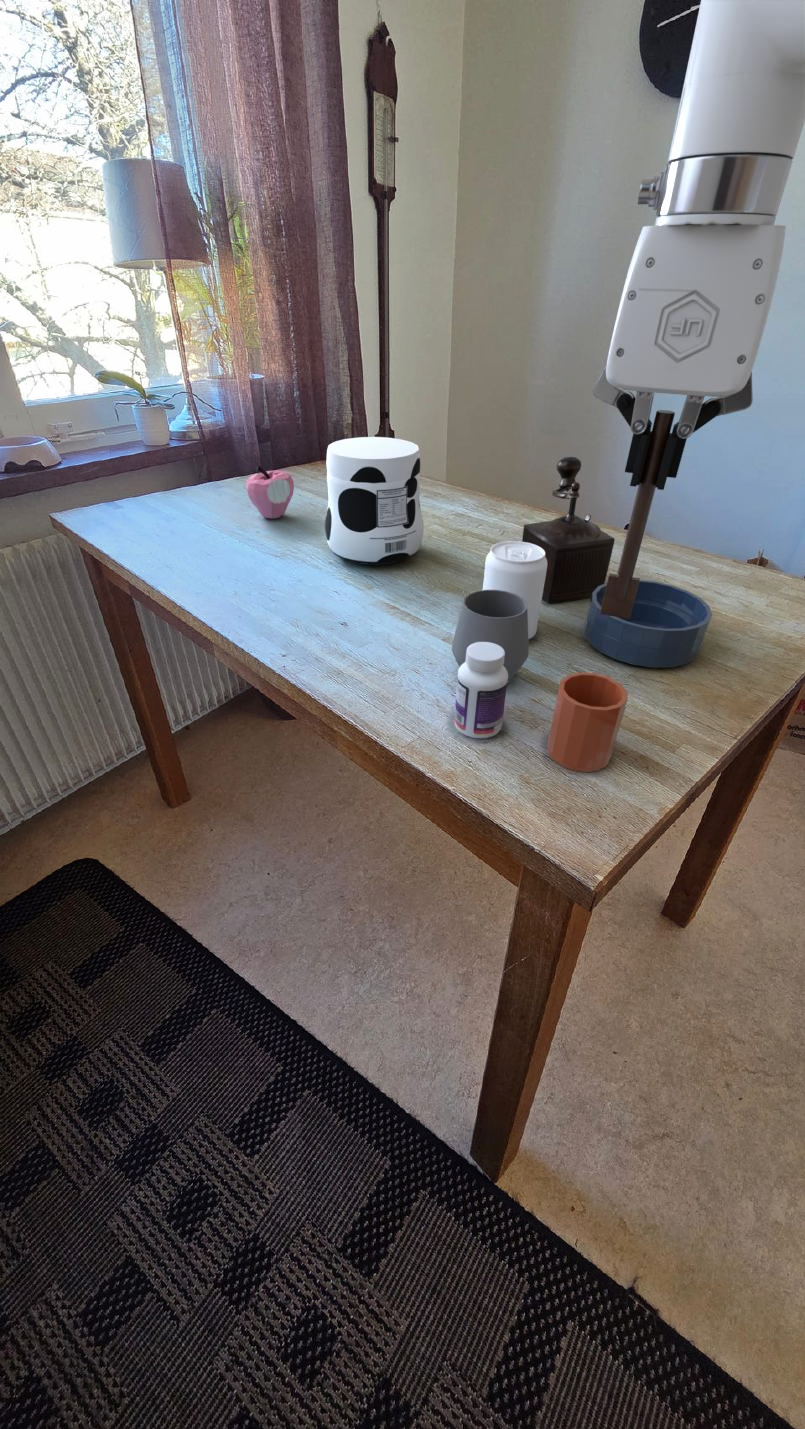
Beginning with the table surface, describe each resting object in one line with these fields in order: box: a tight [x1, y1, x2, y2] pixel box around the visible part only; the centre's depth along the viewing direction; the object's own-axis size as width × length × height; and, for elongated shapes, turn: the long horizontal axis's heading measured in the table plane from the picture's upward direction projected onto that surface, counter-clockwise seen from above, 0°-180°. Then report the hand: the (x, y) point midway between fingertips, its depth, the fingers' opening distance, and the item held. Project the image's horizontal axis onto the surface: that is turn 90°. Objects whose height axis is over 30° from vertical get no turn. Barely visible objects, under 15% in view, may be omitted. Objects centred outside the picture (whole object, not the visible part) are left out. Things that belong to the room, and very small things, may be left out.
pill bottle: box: [454, 642, 509, 739], centre depth 65 cm, size 5×5×10 cm
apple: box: [245, 464, 295, 520], centre depth 121 cm, size 10×9×10 cm
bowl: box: [583, 579, 713, 669], centre depth 82 cm, size 15×15×6 cm
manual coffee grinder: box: [521, 456, 615, 604], centre depth 95 cm, size 16×11×18 cm
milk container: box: [324, 436, 425, 566], centre depth 103 cm, size 17×17×18 cm
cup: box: [451, 589, 530, 682], centre depth 74 cm, size 10×9×10 cm
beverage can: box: [482, 540, 547, 640], centre depth 82 cm, size 8×8×12 cm
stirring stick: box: [600, 409, 676, 619], centre depth 53 cm, size 3×1×18 cm, turn 67°
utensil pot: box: [546, 671, 628, 773], centre depth 62 cm, size 7×7×8 cm
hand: (648, 482), depth 51 cm, fingers closed on stirring stick, 1 cm apart
